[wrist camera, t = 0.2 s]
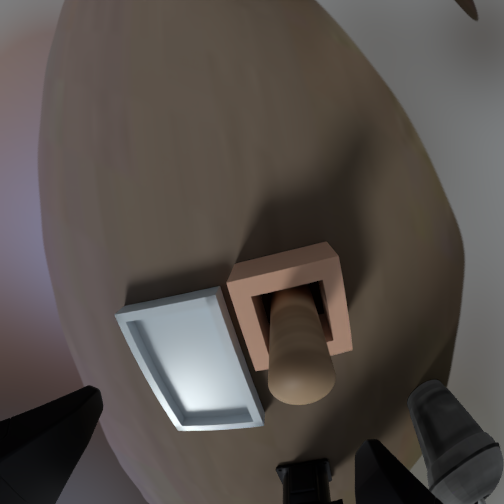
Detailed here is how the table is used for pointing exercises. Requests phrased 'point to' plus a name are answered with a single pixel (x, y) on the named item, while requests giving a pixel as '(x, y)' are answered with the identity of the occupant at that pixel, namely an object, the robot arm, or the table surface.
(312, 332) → the dowel
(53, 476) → the robot arm
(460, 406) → the beverage cup
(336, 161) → the table surface
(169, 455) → the table surface
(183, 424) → the tray
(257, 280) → the holder
